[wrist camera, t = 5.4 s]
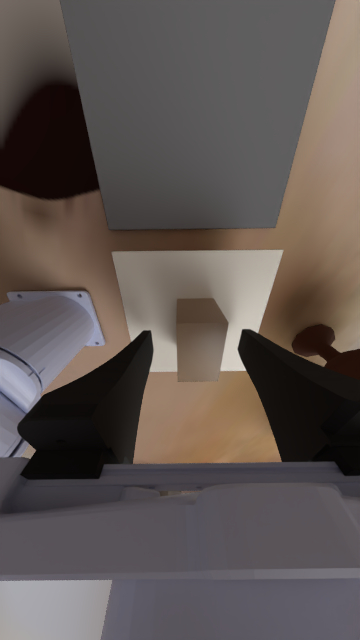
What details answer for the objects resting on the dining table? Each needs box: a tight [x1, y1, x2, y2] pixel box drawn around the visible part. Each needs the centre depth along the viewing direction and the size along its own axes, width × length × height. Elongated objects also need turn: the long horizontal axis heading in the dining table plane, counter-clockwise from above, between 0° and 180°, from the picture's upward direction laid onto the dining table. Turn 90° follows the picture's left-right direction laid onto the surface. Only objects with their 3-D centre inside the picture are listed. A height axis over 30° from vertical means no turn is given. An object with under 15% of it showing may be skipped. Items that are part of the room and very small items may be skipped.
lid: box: [112, 249, 283, 382], centre depth 11 cm, size 12×12×5 cm
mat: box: [60, 0, 335, 230], centre depth 11 cm, size 16×12×1 cm
